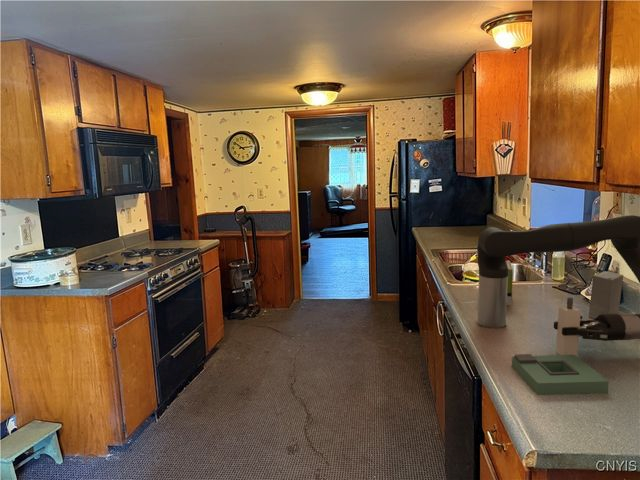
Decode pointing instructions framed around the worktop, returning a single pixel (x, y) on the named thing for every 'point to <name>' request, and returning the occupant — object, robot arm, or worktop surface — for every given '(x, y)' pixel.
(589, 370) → the green square socket base
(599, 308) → the skincare box
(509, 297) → the tea box
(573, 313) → the plug
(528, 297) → the worktop surface
